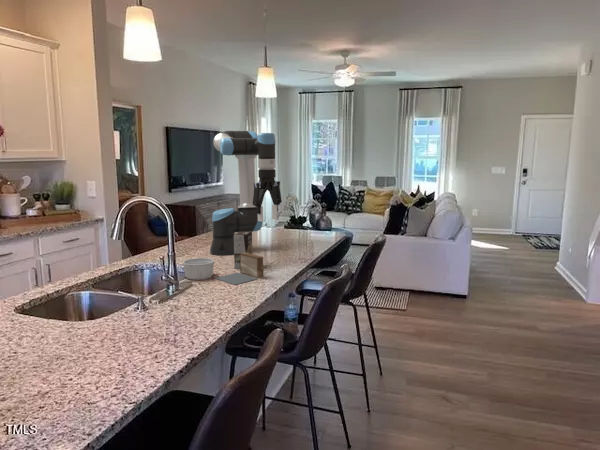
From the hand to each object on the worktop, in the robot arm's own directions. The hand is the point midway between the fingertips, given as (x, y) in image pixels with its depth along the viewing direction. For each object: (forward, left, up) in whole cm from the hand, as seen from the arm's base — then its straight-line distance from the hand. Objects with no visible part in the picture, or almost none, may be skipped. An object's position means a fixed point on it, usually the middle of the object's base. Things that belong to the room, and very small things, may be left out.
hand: (267, 220), depth 200 cm
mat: (+18, 0, -23) cm, 30 cm away
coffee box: (+3, -14, -23) cm, 27 cm away
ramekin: (+27, -15, -24) cm, 39 cm away
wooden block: (+10, 0, -23) cm, 25 cm away
